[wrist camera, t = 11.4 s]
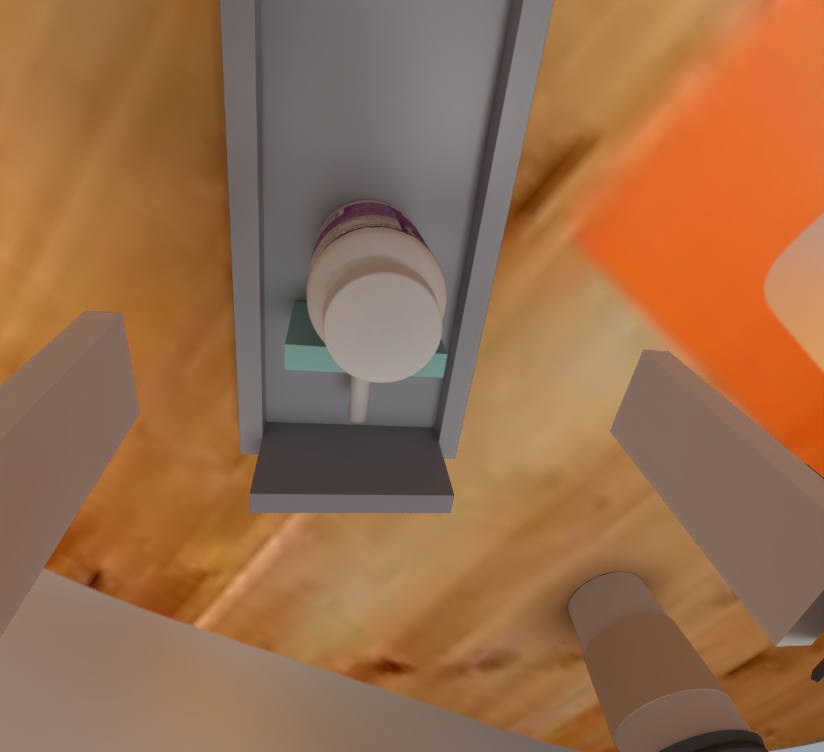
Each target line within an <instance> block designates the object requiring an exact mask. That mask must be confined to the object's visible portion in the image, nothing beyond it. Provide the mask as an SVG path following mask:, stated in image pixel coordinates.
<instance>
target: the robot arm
mask: <svg viewBox="0 0 824 752" xmlns="http://www.w3.org/2000/svg"><path fill="white" fill-rule="evenodd" d="M138 415H139V407H138V401H137V395H136V389H135V383H134V378H133V372H132V366H131V360H130V354H129V348H128V343H127V337H126V331H125V325H124V319H123V314H122V313H110V312H95V311H85V312H84V313H83V314H81V315H80V316H79V317H78V318H77V319H76V320H75V321H73V322H72V323H71V324H70V325H69V326H68V327H67V328H66V329H64V330H63V331H62V332H61V333H60V334H59V335H58V336H56V337H55V338H54V339H53V340H52V341H51V342H50V343H48V344H47V345H46V346H45V347H44V348H43V349H42V350H41V351H39V352H38V353H37V354H36V355H35V356H34V357H33V358H31V359H30V360H29V361H28V362H27V363H26V364H25V365H23V366H22V367H21V368H20V369H19V370H18V371H17V372H15V373H14V374H13V375H12V376H11V377H10V378H9V379H8V380H6V381H5V382H4V383H3V384H2V385H1V386H0V637H1V636H2V634H3V633H4V631H5V629H6V628H7V626H8V624H9V623H10V621H11V620H12V618H13V616H14V615H15V613H16V612H17V610H18V608H19V607H20V605H21V603H22V602H23V600H24V599H25V597H26V595H27V594H28V592H29V590H30V589H31V587H32V586H33V584H34V583H35V581H36V579H37V578H38V576H39V574H40V573H41V571H42V570H43V568H44V566H45V565H46V563H47V562H48V560H49V558H50V557H51V555H52V553H53V552H54V550H55V549H56V547H57V545H58V544H59V542H60V541H61V539H62V537H63V536H64V534H65V532H66V531H67V529H68V528H69V526H70V524H71V523H72V521H73V520H74V518H75V516H76V515H77V513H78V512H79V510H80V508H81V507H82V505H83V503H84V502H85V500H86V499H87V497H88V495H89V494H90V492H91V491H92V489H93V487H94V486H95V484H96V482H97V481H98V479H99V478H100V476H101V474H102V473H103V471H104V470H105V468H106V466H107V465H108V463H109V462H110V460H111V458H112V457H113V455H114V453H115V452H116V450H117V449H118V447H119V445H120V444H121V442H122V441H123V439H124V437H125V436H126V434H127V432H128V431H129V429H130V428H131V426H132V424H133V423H134V421H135V420H136V418H137V416H138ZM610 432H611V433H612V434H613V435H614V437H615V438H616V439H617V441H618V442H619V443H620V445H621V446H622V447H623V448H624V450H625V451H626V452H627V454H628V455H629V456H630V458H631V459H632V460H633V461H634V463H635V464H636V465H637V467H638V468H639V469H640V471H641V472H642V473H643V474H644V476H645V477H646V478H647V480H648V481H649V482H650V484H651V485H652V486H653V487H654V489H655V490H656V491H657V493H658V494H659V495H660V497H661V498H662V499H663V500H664V502H665V503H666V504H667V506H668V507H669V508H670V510H671V511H672V512H673V513H674V515H675V516H676V517H677V519H678V520H679V521H680V523H681V524H682V525H683V526H684V528H685V529H686V530H687V532H688V533H689V534H690V536H691V537H692V538H693V539H694V541H695V542H696V543H697V545H698V546H699V547H700V549H701V550H702V551H703V552H704V554H705V555H706V556H707V558H708V559H709V560H710V562H711V563H712V564H713V565H714V567H715V568H716V569H717V571H718V572H719V573H720V575H721V576H722V577H723V578H724V580H725V581H726V582H727V584H728V585H729V586H730V588H731V589H732V590H733V591H734V593H735V594H736V595H737V597H738V598H739V599H740V601H741V602H742V603H743V604H744V606H745V607H746V608H747V610H748V611H749V612H750V614H751V615H752V616H753V617H754V619H755V620H756V621H757V623H758V624H759V625H760V627H761V628H762V629H763V630H764V632H765V633H766V634H767V636H768V637H769V638H770V640H771V641H772V642H773V644H774V645H775V646H776V647H777V646H799V645H811V644H812V643H813V642H814V641H815V640H816V639H817V638H818V636H819V635H820V634H821V633H822V632H823V631H824V478H823V477H822V476H821V475H820V474H818V473H817V472H816V471H815V470H813V469H812V468H811V467H810V466H809V465H807V464H805V463H804V462H802V461H801V460H800V459H799V458H798V457H796V456H795V455H794V454H793V453H792V452H790V451H789V450H788V449H787V448H785V447H784V446H783V445H782V444H781V443H779V442H778V441H777V440H776V439H775V438H773V437H772V436H771V435H770V434H768V433H767V432H766V431H765V430H764V429H762V428H761V427H760V426H759V425H757V424H756V423H755V422H754V421H753V420H751V419H750V418H749V417H748V416H747V415H745V414H744V413H743V412H742V411H740V410H739V409H738V408H737V407H736V406H734V405H733V404H732V403H731V402H729V401H728V400H727V399H726V398H725V397H723V396H722V395H721V394H720V393H719V392H717V391H716V390H715V389H714V388H712V387H711V386H710V385H709V384H708V383H706V382H705V381H704V380H703V379H702V378H700V377H699V376H698V375H697V374H695V373H694V372H693V371H692V370H691V369H689V368H688V367H687V366H686V365H684V364H683V363H682V362H681V361H680V360H678V359H677V358H676V357H675V356H674V355H672V354H671V353H670V352H669V351H656V350H643V352H642V354H641V357H640V359H639V361H638V364H637V366H636V369H635V371H634V374H633V376H632V379H631V381H630V383H629V386H628V388H627V391H626V393H625V396H624V398H623V400H622V403H621V405H620V408H619V410H618V413H617V415H616V418H615V420H614V422H613V425H612V427H611V430H610ZM823 677H824V659H823V660H822V661H821V662H820V663H819V664H818V665H817V666H816V667H815V668H814V669H813V671H812V676H811V679H812V680H814V681H816V682H819V681H820V680H821V679H822V678H823Z"/></svg>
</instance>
